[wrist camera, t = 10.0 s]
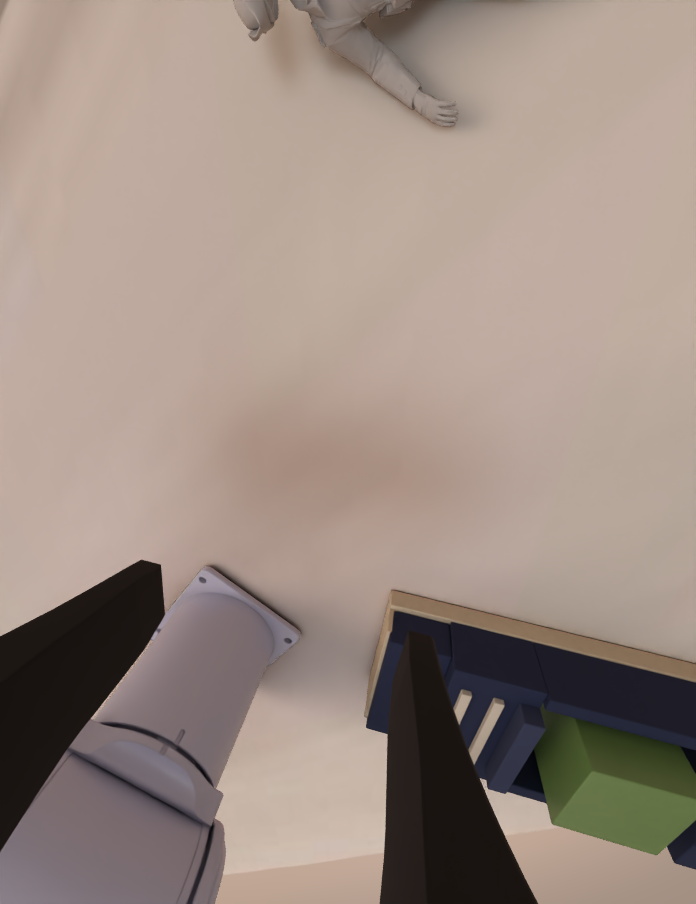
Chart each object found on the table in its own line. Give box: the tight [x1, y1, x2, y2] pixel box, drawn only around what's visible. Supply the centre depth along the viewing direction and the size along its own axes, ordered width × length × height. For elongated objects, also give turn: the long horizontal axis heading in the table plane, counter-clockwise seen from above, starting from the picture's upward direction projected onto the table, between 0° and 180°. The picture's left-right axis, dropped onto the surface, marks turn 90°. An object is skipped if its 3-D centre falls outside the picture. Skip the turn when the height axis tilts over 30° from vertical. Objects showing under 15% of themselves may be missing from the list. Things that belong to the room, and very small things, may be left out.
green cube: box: [534, 704, 696, 855], centre depth 20 cm, size 5×5×5 cm
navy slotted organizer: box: [364, 590, 696, 869], centre depth 21 cm, size 18×8×6 cm, turn 82°
